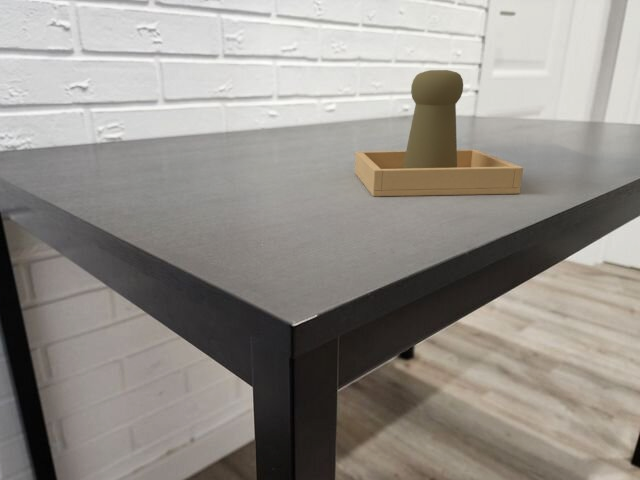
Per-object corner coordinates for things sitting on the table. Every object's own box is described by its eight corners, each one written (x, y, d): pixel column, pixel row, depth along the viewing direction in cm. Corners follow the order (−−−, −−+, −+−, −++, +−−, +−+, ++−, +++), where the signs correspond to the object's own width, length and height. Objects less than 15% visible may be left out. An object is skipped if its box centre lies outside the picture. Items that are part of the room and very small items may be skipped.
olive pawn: (462, 182, 53) (475, 69, 49) (402, 182, 54) (410, 70, 50) (453, 172, 59) (463, 69, 55) (399, 171, 60) (406, 70, 56)
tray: (473, 170, 63) (476, 149, 62) (519, 193, 51) (523, 167, 50) (354, 173, 63) (355, 151, 62) (373, 196, 51) (374, 170, 50)
